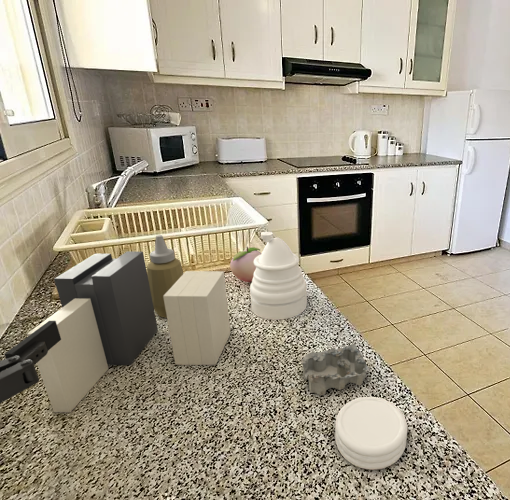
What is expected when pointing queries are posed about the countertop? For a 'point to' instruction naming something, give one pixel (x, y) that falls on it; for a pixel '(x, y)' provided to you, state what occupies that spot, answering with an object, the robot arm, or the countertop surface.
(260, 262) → the honey pot
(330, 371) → the egg carton
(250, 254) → the decorative fruit
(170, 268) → the squeeze bottle
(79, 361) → the thin white book
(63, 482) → the countertop surface
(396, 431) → the white jar lid
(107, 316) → the grey books
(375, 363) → the countertop surface
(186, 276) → the white books
